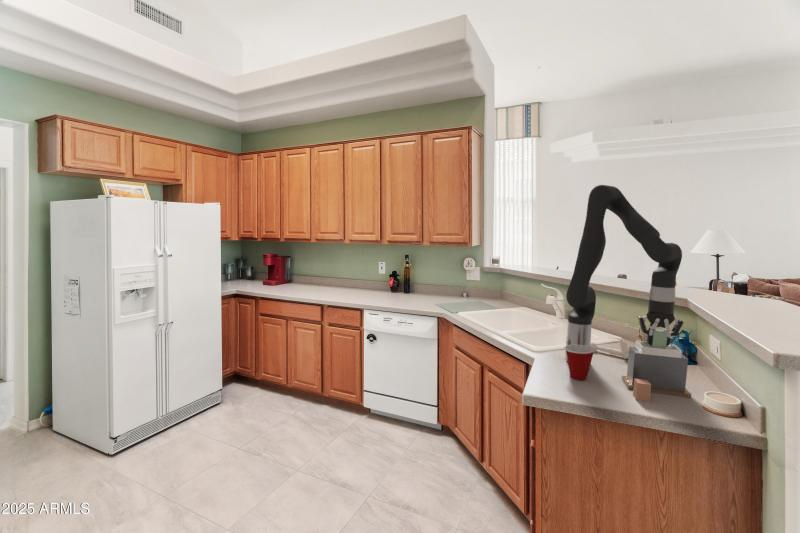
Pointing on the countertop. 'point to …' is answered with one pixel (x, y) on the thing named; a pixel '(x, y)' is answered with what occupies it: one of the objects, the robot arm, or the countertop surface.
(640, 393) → the rust block
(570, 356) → the plastic cup
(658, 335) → the sage block
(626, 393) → the countertop surface
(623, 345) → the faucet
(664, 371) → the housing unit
